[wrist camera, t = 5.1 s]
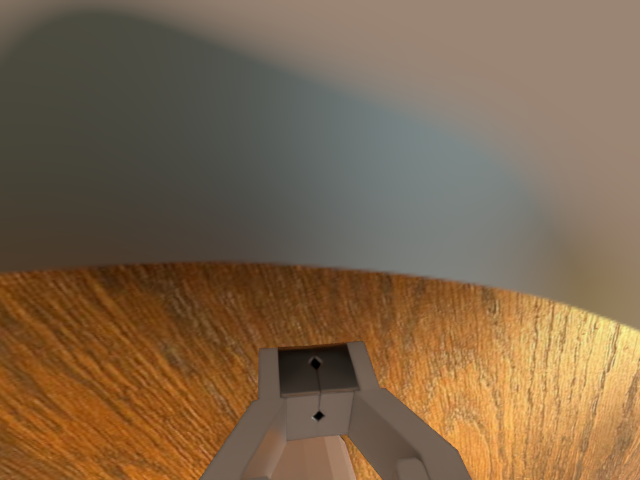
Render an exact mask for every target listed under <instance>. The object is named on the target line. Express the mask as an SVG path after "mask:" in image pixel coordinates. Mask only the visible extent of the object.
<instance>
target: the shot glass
mask: <svg viewBox="0 0 640 480" xmlns="http://www.w3.org/2000/svg"><path fill="white" fill-rule="evenodd" d="M270 480H356V477H355V474H354V470H353V467H352V464H351V460H350V457H349V454H348V451H347V447H346V444H345V442H344V441H343V439H342V438H341V437H340V436H339V435H335V436H324V437H314V438H307V439H300V440H293V441H286V446H285V448H284V450H283V452H282V454H281V457H280V459H279V461H278V463H277V465H276V467H275V469H274V472H273V474H272V476H271V478H270Z"/></svg>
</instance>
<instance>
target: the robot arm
mask: <svg viewBox="0 0 640 480" xmlns="http://www.w3.org/2000/svg"><path fill="white" fill-rule="evenodd" d="M347 434H348V437H349V438H350V439H351V441H352V442H353V443H354V444H355V446H356V447H357V448H358V449H359V451H360V452H361V453H362V454H363V456H364V457H365V458H366V459H367V461H368V462H369V463H370V464H371V466H372V467H373V468H374V469H375V471H376V472H377V473H378V474H379V476H380V477H381V478H382V479H383V480H472V479H471V477H470V475H469V473H468V471H467V469H466V467H465V465H464V463H463V460H462V458H461V456H460V454H459V452H458V450H457V449H455V448H454V447H453V446H452V445H451V444H450V443H449V442H447V441H446V440H445V439H444V438H443V437H442V436H440V435H439V434H438V433H437V432H436V431H435V430H433V429H432V428H431V427H430V426H429V425H428V424H426V423H425V422H424V421H423V420H422V419H421V418H419V417H418V416H417V415H416V414H415V413H414V412H413V411H411V410H410V409H409V408H408V407H407V406H406V405H404V404H403V403H402V402H401V401H400V400H399V399H397V398H396V397H395V396H394V395H393V394H392V393H390V392H389V391H388V390H387V389H386V388H380V386H379V384H378V381H377V378H376V375H375V372H374V369H373V366H372V363H371V360H370V358H369V355H368V352H367V349H366V346H365V343H364V342H363V341H356V342H346V343H345V342H343V343H331V344H320V345H312V346H294V347H278V350H277V348H260V349H259V376H258V400H256V401H252V403H251V404H250V406H249V407H248V409H247V410H246V412H245V413H244V414H243V416H242V417H241V419H240V420H239V422H238V423H237V425H236V426H235V428H234V429H233V431H232V432H231V434H230V435H229V436H228V438H227V439H226V441H225V442H224V444H223V445H222V447H221V448H220V450H219V451H218V453H217V454H216V455H215V457H214V458H213V460H212V461H211V463H210V464H209V466H208V467H207V469H206V470H205V472H204V473H203V475H202V476H201V477H200V479H199V480H270V478H271V476H272V474H273V472H274V469H275V467H276V465H277V463H278V461H279V459H280V457H281V454H282V452H283V450H284V448H285V446H286V441H293V440H300V439H307V438H314V437H324V436H335V435H347Z"/></svg>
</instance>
